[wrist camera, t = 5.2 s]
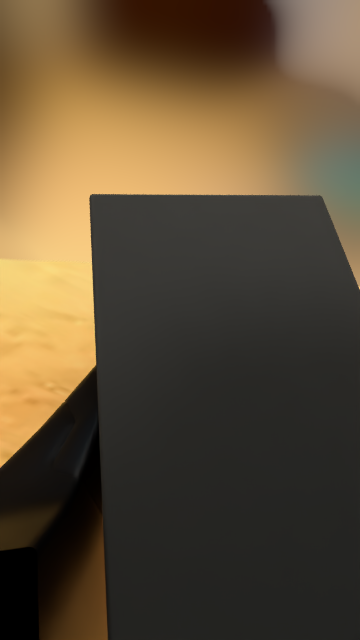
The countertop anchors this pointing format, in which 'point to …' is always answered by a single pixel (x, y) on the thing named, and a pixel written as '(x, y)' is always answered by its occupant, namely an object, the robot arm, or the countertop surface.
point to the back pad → (227, 417)
